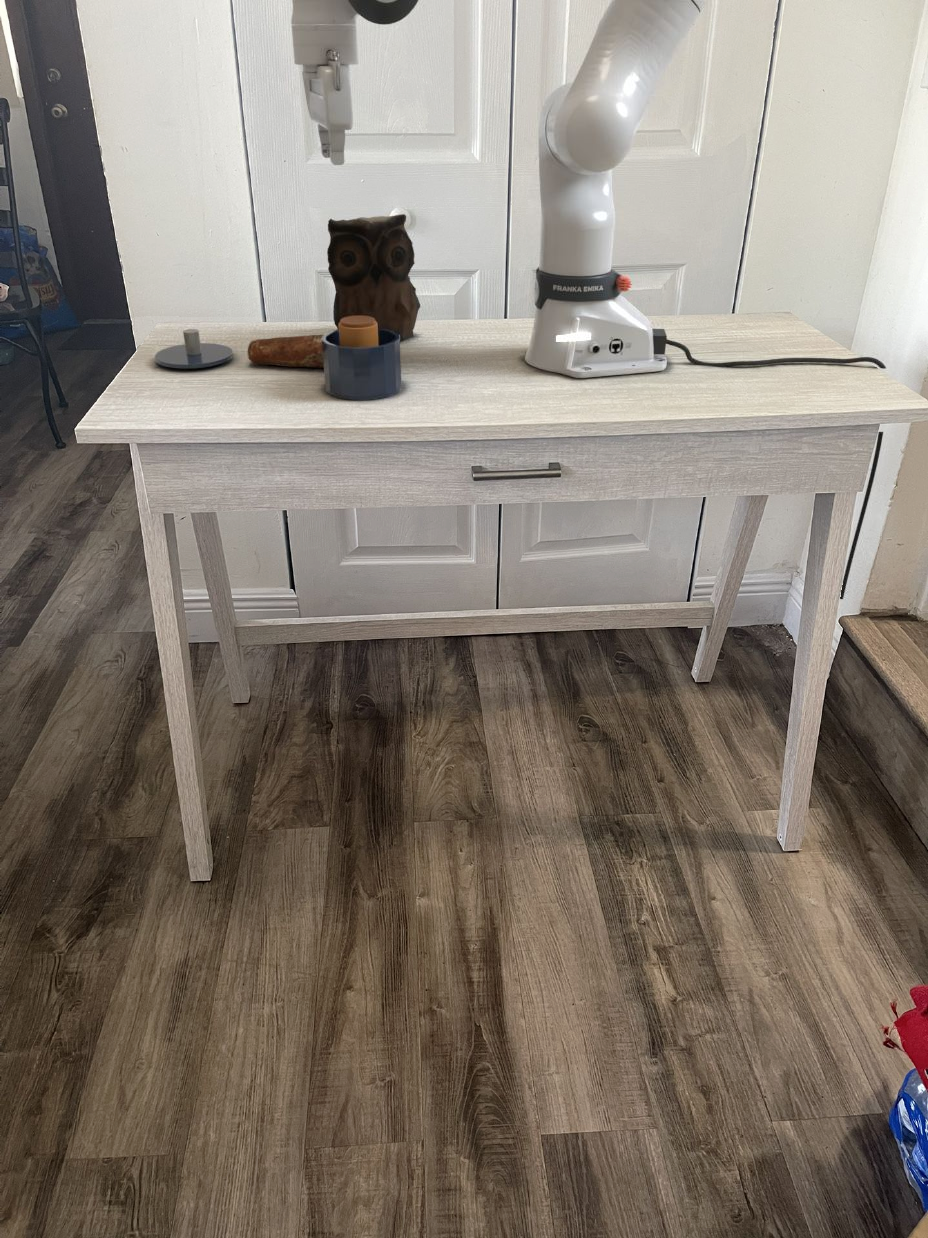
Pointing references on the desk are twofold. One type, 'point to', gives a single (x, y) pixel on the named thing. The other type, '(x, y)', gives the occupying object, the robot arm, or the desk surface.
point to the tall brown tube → (358, 331)
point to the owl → (373, 272)
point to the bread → (288, 351)
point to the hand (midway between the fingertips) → (332, 160)
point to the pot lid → (193, 353)
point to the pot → (362, 367)
